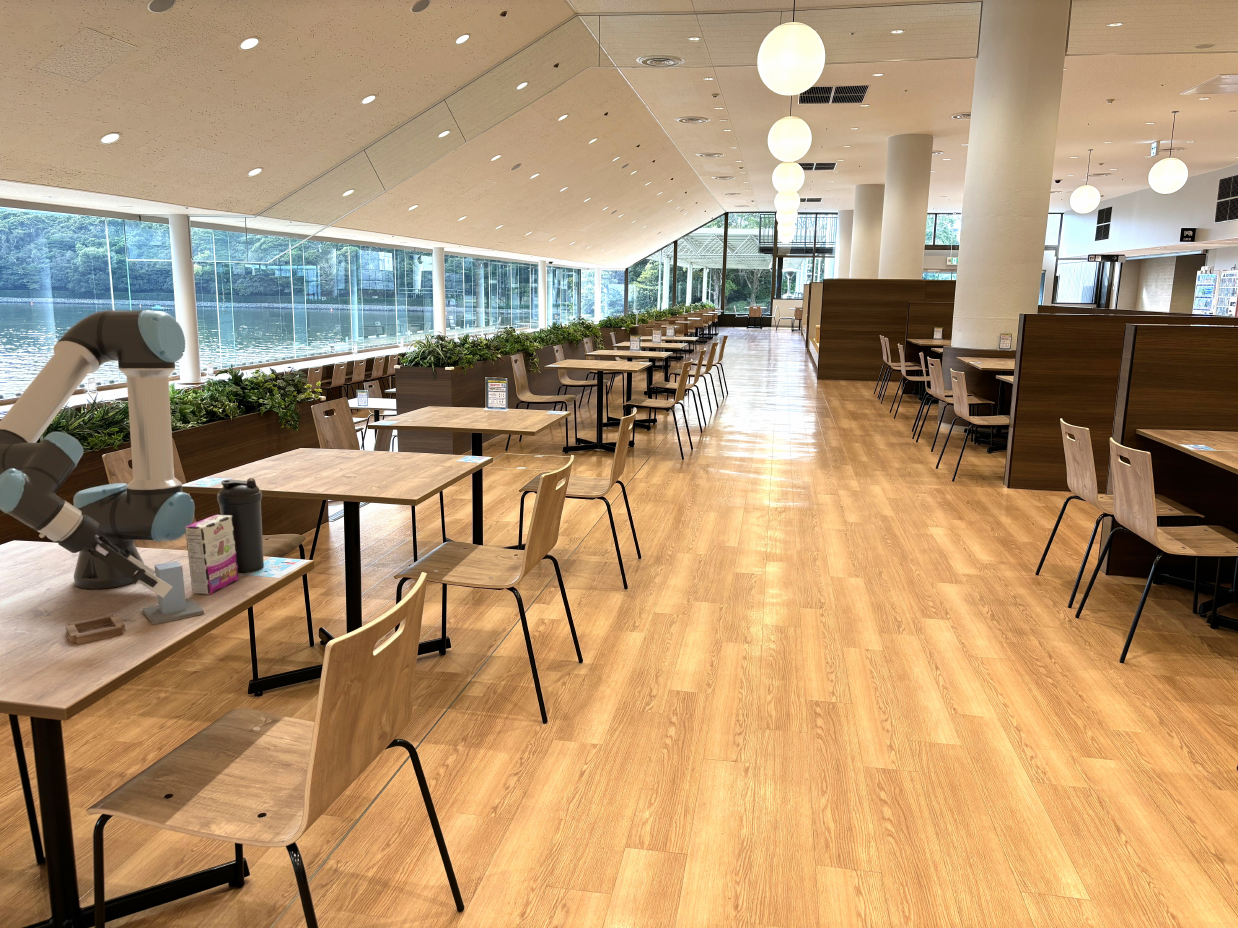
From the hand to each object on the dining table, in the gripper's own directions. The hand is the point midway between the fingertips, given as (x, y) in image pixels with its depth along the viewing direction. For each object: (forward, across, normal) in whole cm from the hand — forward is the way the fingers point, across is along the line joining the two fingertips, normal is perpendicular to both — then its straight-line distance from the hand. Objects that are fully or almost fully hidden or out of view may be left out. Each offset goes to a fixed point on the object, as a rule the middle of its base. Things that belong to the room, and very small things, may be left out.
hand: (159, 584), depth 185 cm
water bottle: (+22, -22, +12) cm, 34 cm away
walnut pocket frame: (-4, +1, -14) cm, 15 cm away
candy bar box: (+15, -12, +5) cm, 20 cm away
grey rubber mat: (+7, 0, -3) cm, 7 cm away
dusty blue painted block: (+6, 0, -3) cm, 7 cm away
